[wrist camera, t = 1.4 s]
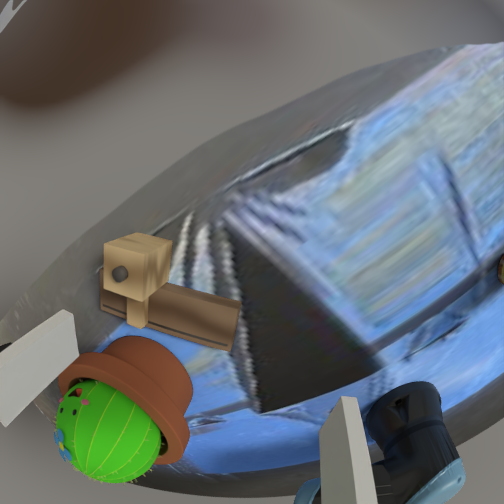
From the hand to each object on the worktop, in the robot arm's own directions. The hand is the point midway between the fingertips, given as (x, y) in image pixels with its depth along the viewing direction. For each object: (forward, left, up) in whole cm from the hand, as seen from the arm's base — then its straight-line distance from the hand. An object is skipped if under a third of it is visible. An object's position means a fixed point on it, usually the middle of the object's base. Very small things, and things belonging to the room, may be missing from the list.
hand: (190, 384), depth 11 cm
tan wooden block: (-7, +15, -25) cm, 30 cm away
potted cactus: (-27, +15, -26) cm, 40 cm away
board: (-11, +12, -25) cm, 30 cm away
